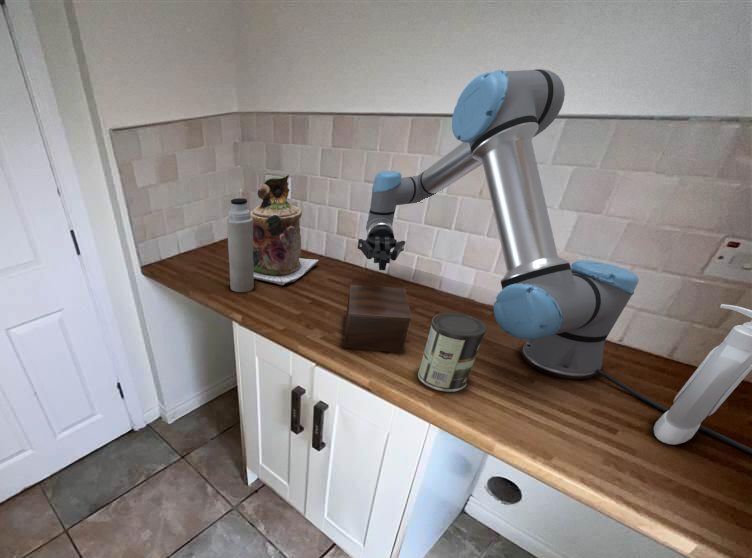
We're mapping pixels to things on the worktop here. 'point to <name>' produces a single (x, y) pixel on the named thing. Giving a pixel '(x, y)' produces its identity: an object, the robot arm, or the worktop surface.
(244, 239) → the thermos bottle
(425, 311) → the worktop surface
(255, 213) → the cookie jar
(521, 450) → the worktop surface
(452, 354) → the coffee can
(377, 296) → the lid
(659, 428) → the soap bottle
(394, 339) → the chest
